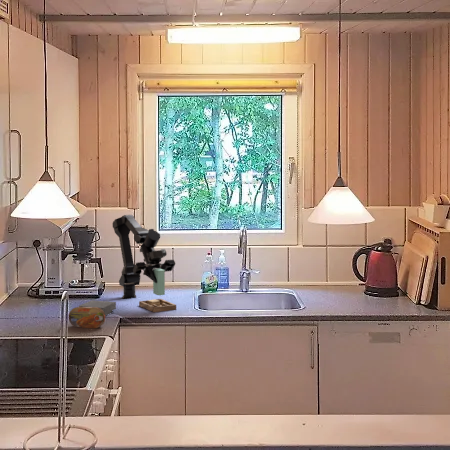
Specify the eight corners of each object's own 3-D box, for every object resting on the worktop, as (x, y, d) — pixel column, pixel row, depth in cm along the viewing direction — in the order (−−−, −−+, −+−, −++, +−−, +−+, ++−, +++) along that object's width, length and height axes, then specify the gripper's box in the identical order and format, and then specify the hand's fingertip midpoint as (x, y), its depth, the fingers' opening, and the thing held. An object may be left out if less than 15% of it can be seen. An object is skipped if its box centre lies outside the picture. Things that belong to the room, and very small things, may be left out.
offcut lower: (148, 305, 333) (147, 303, 333) (155, 304, 335) (155, 302, 335) (152, 307, 330) (151, 304, 330) (159, 306, 332) (159, 303, 332)
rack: (139, 307, 333) (139, 301, 333) (160, 305, 339) (160, 298, 339) (154, 314, 321) (154, 307, 320) (176, 311, 327) (176, 304, 326)
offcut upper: (147, 303, 333) (147, 300, 333) (155, 302, 335) (155, 299, 335) (152, 304, 330) (152, 302, 330) (160, 303, 332) (160, 300, 332)
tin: (68, 327, 299) (68, 307, 298) (71, 325, 302) (70, 305, 301) (103, 329, 296) (103, 308, 295) (106, 327, 299) (106, 306, 298)
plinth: (91, 308, 331) (91, 300, 330) (115, 310, 327) (115, 302, 327) (78, 314, 319) (78, 305, 319) (103, 317, 316) (103, 307, 315)
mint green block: (153, 293, 327) (153, 269, 326) (159, 292, 329) (159, 268, 327) (158, 295, 323) (158, 270, 321) (164, 294, 324) (164, 270, 323)
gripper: (135, 244, 322) (146, 273, 314) (173, 241, 331) (184, 269, 323) (128, 259, 329) (138, 288, 321) (165, 256, 339) (176, 284, 331)
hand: (160, 282), depth 324 cm, fingers closed on mint green block, 3 cm apart
